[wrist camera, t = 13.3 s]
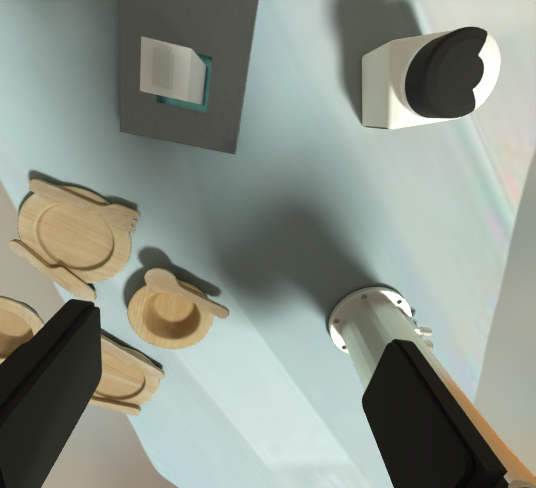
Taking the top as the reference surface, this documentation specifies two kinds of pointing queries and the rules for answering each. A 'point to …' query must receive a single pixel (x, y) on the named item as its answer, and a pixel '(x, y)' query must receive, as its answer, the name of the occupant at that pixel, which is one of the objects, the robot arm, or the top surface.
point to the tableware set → (96, 270)
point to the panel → (207, 49)
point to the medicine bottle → (428, 78)
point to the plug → (172, 71)
